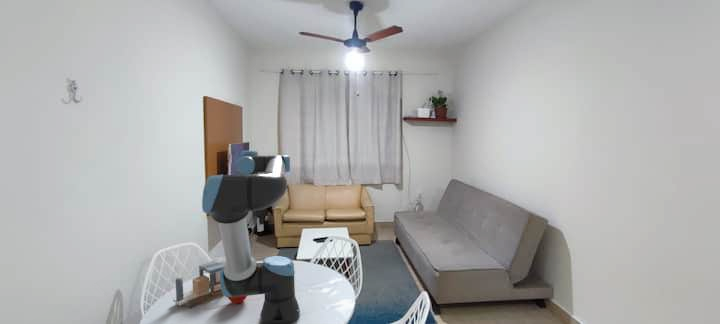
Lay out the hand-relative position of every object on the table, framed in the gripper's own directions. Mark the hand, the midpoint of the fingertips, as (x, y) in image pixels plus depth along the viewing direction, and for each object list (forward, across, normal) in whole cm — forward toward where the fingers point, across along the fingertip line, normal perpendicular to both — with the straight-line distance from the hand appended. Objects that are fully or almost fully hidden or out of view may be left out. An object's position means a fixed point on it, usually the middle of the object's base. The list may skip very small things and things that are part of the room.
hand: (251, 228), depth 148 cm
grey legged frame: (+29, +11, +16) cm, 35 cm away
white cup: (+29, +23, +5) cm, 37 cm away
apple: (+29, -6, +12) cm, 32 cm away
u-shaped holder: (+27, +11, +23) cm, 37 cm away
